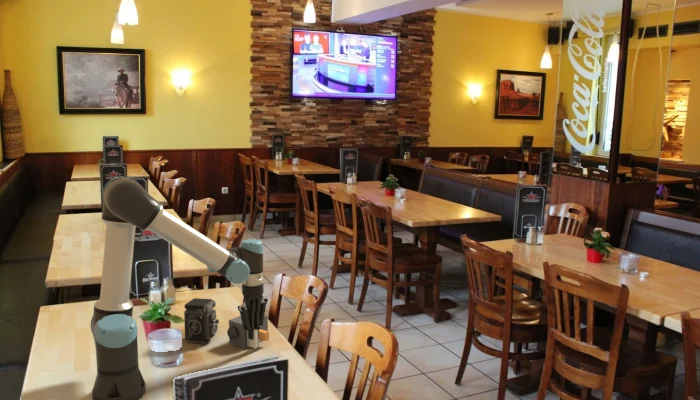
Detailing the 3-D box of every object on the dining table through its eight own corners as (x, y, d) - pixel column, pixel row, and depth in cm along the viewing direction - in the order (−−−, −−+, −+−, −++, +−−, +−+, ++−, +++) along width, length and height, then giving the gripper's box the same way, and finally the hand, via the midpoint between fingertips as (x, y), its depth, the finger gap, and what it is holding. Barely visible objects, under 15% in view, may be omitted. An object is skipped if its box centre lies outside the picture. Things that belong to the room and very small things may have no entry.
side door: (256, 349, 212) (256, 332, 211) (247, 346, 215) (246, 329, 214) (269, 343, 217) (268, 327, 216) (259, 340, 220) (259, 324, 219)
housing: (241, 350, 213) (241, 324, 212) (226, 344, 218) (225, 319, 216) (268, 338, 224) (267, 313, 222) (252, 333, 229) (252, 309, 227)
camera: (210, 346, 216) (209, 307, 213) (183, 344, 218) (182, 305, 215) (221, 336, 226) (221, 298, 223) (196, 333, 228) (195, 296, 226)
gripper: (246, 289, 201) (247, 355, 205) (273, 280, 212) (274, 343, 216) (231, 285, 206) (232, 350, 210) (258, 277, 216) (259, 338, 220)
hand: (253, 346), depth 213 cm, fingers closed
